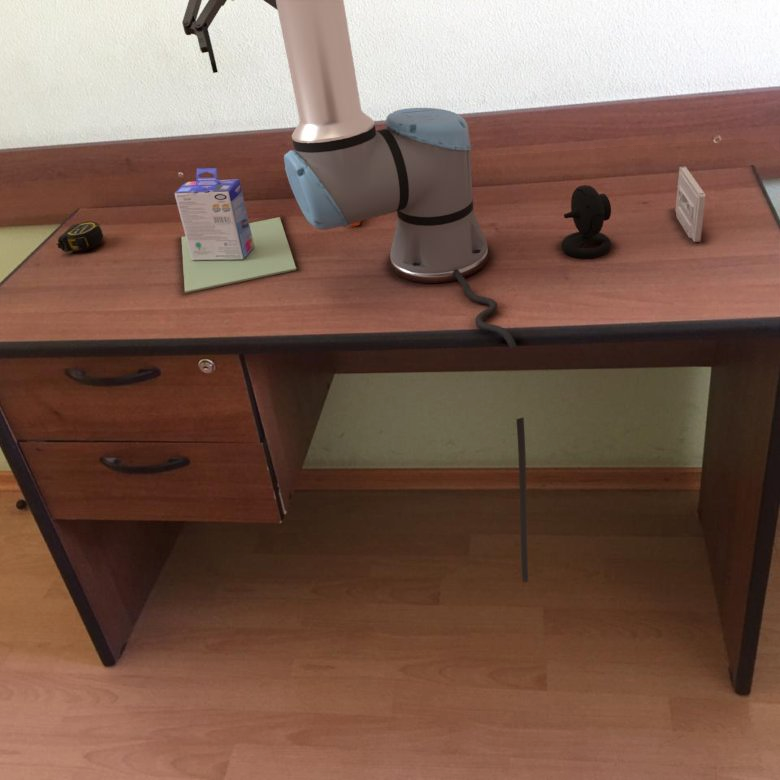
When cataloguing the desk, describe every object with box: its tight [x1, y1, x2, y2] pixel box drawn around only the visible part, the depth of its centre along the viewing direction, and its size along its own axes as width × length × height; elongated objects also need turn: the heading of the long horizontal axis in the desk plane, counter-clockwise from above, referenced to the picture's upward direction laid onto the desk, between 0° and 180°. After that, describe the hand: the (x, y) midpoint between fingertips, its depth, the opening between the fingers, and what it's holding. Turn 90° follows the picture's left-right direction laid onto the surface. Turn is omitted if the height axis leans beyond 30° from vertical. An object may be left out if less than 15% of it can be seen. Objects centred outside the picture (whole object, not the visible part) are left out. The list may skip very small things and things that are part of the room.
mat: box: [181, 216, 297, 294], centre depth 142 cm, size 22×18×1 cm
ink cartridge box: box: [173, 167, 254, 260], centre depth 137 cm, size 10×6×14 cm, turn 79°
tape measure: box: [56, 220, 104, 252], centre depth 151 cm, size 7×7×4 cm
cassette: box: [675, 165, 707, 243], centre depth 129 cm, size 12×2×8 cm, turn 178°
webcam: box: [561, 184, 612, 259], centre depth 126 cm, size 8×8×10 cm
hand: (256, 60), depth 133 cm, fingers open, 13 cm apart
